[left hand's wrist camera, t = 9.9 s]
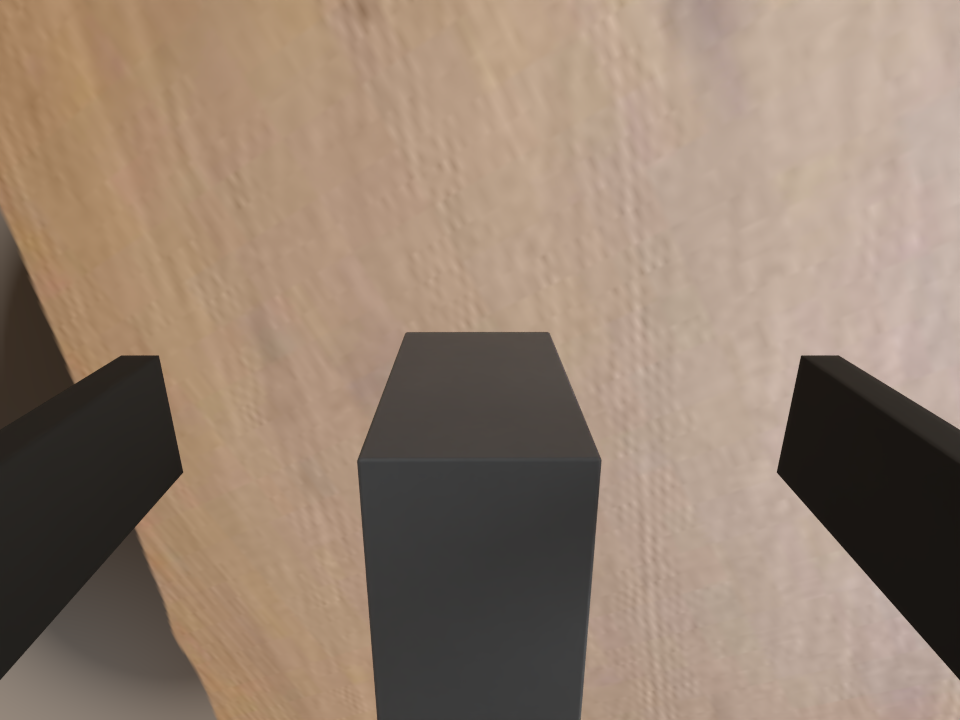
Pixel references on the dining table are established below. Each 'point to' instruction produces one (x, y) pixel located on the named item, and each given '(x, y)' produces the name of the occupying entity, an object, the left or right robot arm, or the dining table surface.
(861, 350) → the dining table surface
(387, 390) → the bar
